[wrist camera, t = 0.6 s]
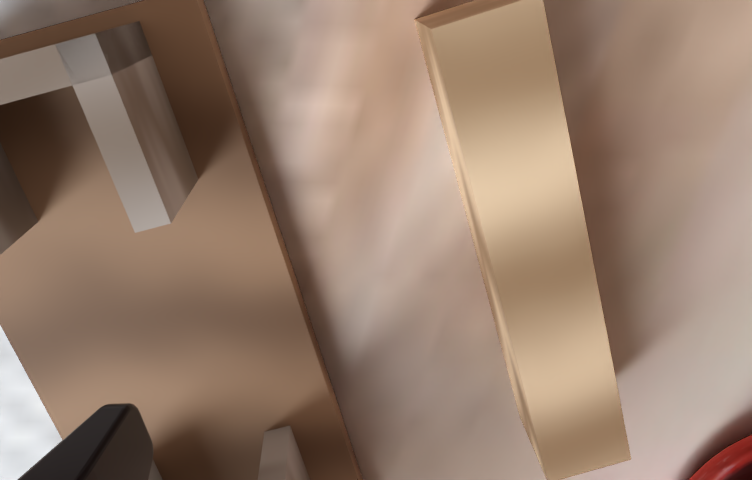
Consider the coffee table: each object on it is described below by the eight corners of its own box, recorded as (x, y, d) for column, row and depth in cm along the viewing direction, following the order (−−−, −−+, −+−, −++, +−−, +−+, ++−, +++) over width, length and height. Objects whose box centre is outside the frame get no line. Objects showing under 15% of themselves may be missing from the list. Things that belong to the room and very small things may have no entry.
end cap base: (370, 503, 28) (378, 608, 24) (143, 558, 29) (107, 672, 24) (198, -14, 20) (159, -9, 16) (-113, 71, 21) (-241, 102, 16)
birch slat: (589, 392, 27) (631, 459, 23) (518, 413, 27) (548, 482, 24) (504, -11, 21) (541, -7, 17) (413, 18, 21) (431, 29, 18)
